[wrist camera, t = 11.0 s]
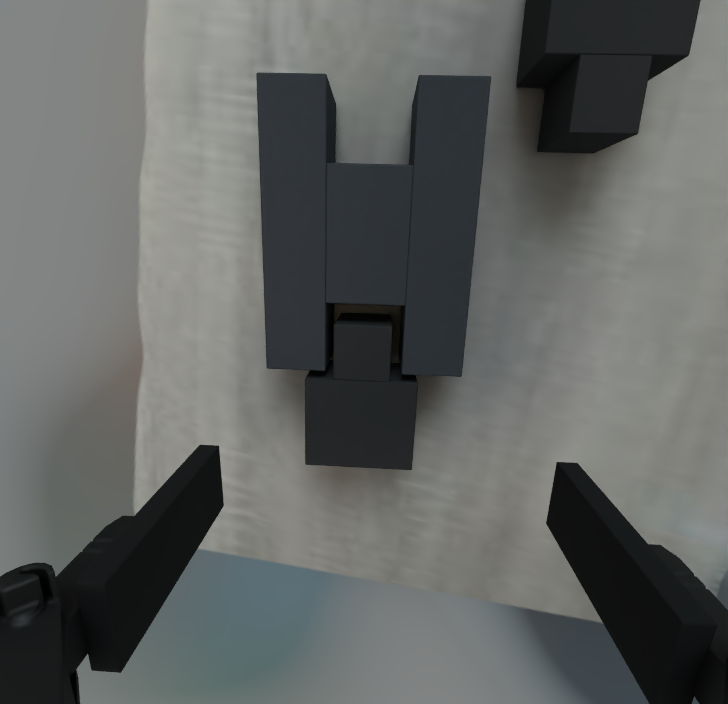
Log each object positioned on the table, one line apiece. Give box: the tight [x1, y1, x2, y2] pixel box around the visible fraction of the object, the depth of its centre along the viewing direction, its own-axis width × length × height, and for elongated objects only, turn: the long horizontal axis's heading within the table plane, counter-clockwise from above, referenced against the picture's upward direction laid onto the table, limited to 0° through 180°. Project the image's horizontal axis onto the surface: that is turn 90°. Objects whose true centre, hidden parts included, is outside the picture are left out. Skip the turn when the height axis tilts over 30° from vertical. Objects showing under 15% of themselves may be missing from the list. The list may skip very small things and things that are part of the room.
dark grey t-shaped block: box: [516, 0, 700, 153], centre depth 21 cm, size 7×10×4 cm
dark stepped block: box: [305, 313, 418, 470], centre depth 27 cm, size 7×10×4 cm
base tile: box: [257, 73, 491, 377], centre depth 24 cm, size 12×16×4 cm
